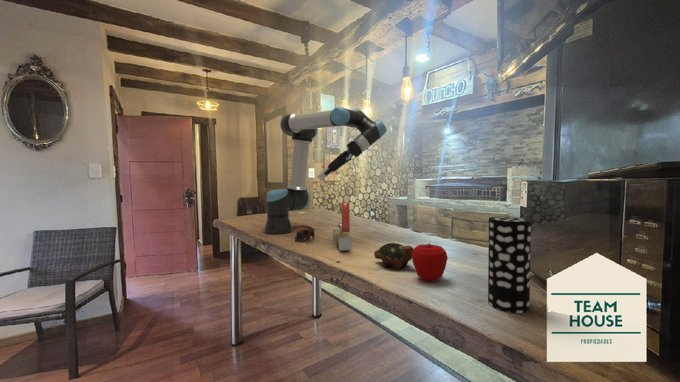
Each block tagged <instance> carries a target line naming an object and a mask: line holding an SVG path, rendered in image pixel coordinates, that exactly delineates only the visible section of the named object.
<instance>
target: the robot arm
mask: <svg viewBox="0 0 680 382" xmlns="http://www.w3.org/2000/svg"><path fill="white" fill-rule="evenodd" d="M279 125H280V130H281V131H282V133H284V134H285V135H286V136H289V137H291V141H292V142H293V151H292V159H291V161H292V162H291V163H292V164H291V174H290V181H289V182H290V183H289V184H288V186H286V188H279V189H274V190H269V191H267V194H266V214H267V216H266V217H267V218H266V223H265V225H264V234H268V235H282V234H288V233H289V234H290V233H291V232H292V233H293V225H292V223H291V220H290V217H289V216H290V215H289V214H290V212H294V211H301V210H304V209H306V208H308V206H309V205H310V202H311V195H310V193H309V192H308V188H307V186H306V180H307V171H308V170H307V169H308V159H309V149H310V145H311V144H312V143H313V139H314V138H316V136H317V135H318V129H323V128H333V127H349V128H354V129H357V130H358V131H359V132H360V133H359V134H358V135H357V136H355V137H354V138H353V140H350V142H348V143H347V144H346V148H347V150H344V151H343V152H340V153H339V155H338V156H337V157H335V158H334V159H333V160H332V161H331V162H330V163H329V164H328V165H327V167H326V168H324V170H323V171H321V172H320V173H319V174H317V176H316V177H317V179H319V180H320V182H322V181H323V180H324V179H325V178H327V177H328V176H329V175H331V173H333V172H334V173H335V172H336V171H337V170H339V169H340V168H342V167H343V166H344V165H345V164H346V163H348V162H350V161H352V158H353V157H355V158H359V156H361V155H362V154H363V153H364V152H365V151H366V150H367V151H368V150H369V148H370V147H371V146H372V145H373V144H375V143H376V142H377V141H378V140H380V139H381V138H382V137H383V136H384V135H385V134H386V133H387V127H386V125H385V123H384V122H383V121H382V120H380V119H377V120H374V121H373V120H372V119H371V118H370V117H369V116H368V115H366V114H365V113H364V112H363V111H362V110H361V109H359V108H353V109H349V108H346V107H343V106H337V107H336V106H335V107H334V108H333V109H330V110H325V111H317V112H316V111H315V112H312V113H311V112H309V113H303V114H298V113H289V114H286V115H284V116H282V118H281V119H280V124H279Z"/></svg>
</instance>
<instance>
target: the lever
mask: <svg viewBox="0 0 680 382" xmlns="http://www.w3.org/2000/svg"><path fill="white" fill-rule="evenodd" d="M350 217H351V215H350V202H342V203H341V223H337V227H338V228H339V227H340V228H341V229H342V232H348V233H350V232H351V230H350V229H351V227H350V225H351V222H350V221H351V219H350Z"/></svg>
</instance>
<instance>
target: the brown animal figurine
mask: <svg viewBox="0 0 680 382" xmlns="http://www.w3.org/2000/svg"><path fill="white" fill-rule="evenodd" d="M315 235H316V234H315V229H314V227H312V226H309V225H303V224H302V225H299V228H298V229H297V230H296V236H295V237H294V241H295V242H301V243H305V241H310V240H311V237H312V240H314V239H315V237H316V236H315Z"/></svg>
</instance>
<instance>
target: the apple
mask: <svg viewBox="0 0 680 382" xmlns="http://www.w3.org/2000/svg"><path fill="white" fill-rule="evenodd" d="M413 248H414V249H413V251H412V255H411V256H412V259H411V260H412V263H413V267H414V269H415V272H416V275H417V276H418V277H419V278H420V279H421V280H423V281H424V282H429V283H434V282H437V281H438V280H439V279H441V278H442V277H443V274H444V272H445V270H446V267H447V262H448V258H449V257H448V254H447V251H446V250H445V248H443V247H442V246H441V245H437V244H436V245H435V244H431V243H430V242H429V243H428V244H427V243H426V244H418V245H416V246H415V247H413Z"/></svg>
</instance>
